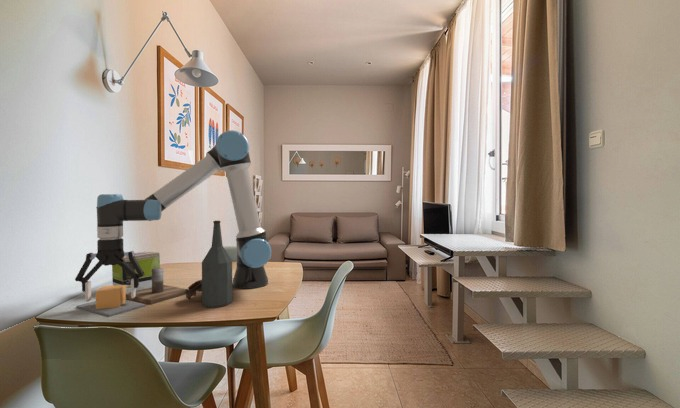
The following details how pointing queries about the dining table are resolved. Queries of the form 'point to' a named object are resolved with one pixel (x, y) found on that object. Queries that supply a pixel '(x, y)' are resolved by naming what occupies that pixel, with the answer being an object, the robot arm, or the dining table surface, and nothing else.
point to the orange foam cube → (110, 296)
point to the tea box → (145, 261)
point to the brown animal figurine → (193, 289)
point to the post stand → (157, 290)
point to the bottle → (216, 273)
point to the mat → (111, 311)
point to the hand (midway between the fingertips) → (111, 299)
